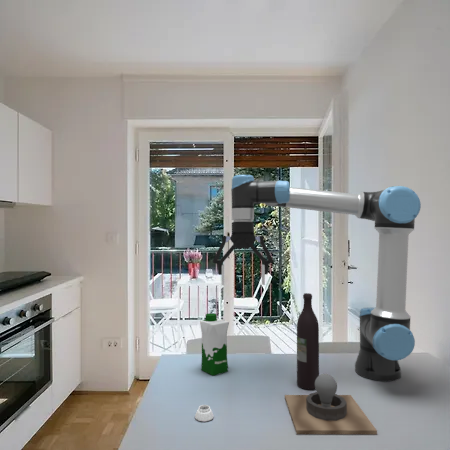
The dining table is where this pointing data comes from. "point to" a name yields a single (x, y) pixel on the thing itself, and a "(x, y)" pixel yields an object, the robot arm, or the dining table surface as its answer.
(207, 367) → the milk carton
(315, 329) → the wine bottle
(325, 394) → the light bulb
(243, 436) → the dining table surface
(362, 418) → the lamp holder
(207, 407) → the lidless jar
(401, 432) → the dining table surface
